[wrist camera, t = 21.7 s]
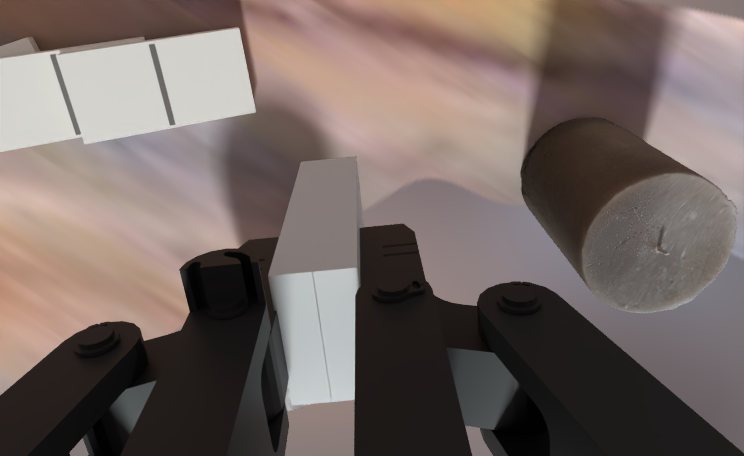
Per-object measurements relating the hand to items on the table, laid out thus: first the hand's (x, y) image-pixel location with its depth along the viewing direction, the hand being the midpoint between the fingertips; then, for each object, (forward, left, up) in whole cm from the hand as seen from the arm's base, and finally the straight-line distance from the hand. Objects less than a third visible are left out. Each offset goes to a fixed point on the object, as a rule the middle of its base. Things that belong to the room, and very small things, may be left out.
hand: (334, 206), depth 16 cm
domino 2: (-8, 0, -30) cm, 30 cm away
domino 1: (-14, 0, -30) cm, 33 cm away
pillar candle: (+18, -11, -31) cm, 37 cm away
